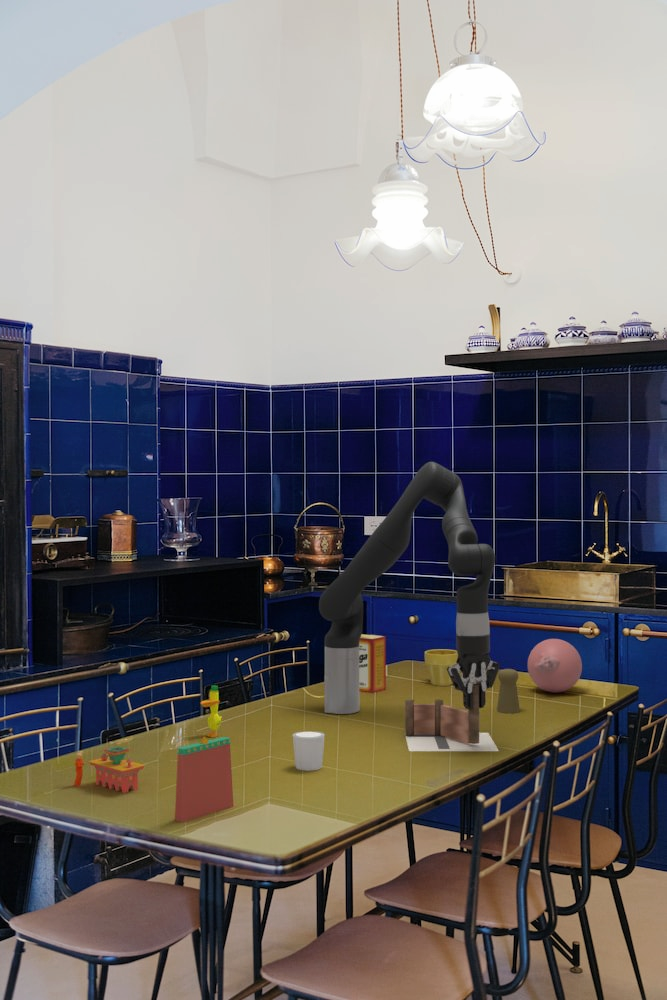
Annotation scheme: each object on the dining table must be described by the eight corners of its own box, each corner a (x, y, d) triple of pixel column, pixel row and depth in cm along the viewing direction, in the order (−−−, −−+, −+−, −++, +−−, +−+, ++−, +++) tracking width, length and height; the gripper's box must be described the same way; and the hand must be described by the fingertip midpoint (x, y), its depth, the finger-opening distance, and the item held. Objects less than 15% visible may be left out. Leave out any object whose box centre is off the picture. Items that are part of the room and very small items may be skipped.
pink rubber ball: (511, 696, 304) (511, 641, 303) (540, 685, 320) (540, 633, 320) (562, 702, 295) (562, 646, 295) (590, 690, 311) (590, 638, 311)
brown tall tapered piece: (519, 708, 286) (519, 667, 286) (520, 713, 280) (520, 671, 280) (496, 708, 287) (496, 667, 287) (497, 713, 281) (497, 671, 281)
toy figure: (206, 740, 252) (206, 689, 251) (196, 737, 254) (196, 687, 254) (227, 734, 257) (227, 685, 257) (216, 732, 259) (216, 683, 259)
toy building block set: (182, 823, 190) (181, 743, 190) (66, 787, 213) (65, 716, 213) (233, 807, 199) (233, 731, 199) (117, 774, 222) (116, 706, 222)
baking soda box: (346, 689, 314) (346, 635, 314) (359, 686, 319) (359, 632, 319) (372, 693, 308) (372, 637, 308) (385, 689, 314) (385, 635, 313)
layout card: (409, 752, 239) (409, 750, 239) (404, 734, 257) (404, 732, 257) (499, 752, 239) (499, 750, 239) (488, 734, 257) (488, 732, 257)
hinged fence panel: (438, 735, 252) (438, 677, 252) (446, 734, 253) (446, 676, 253) (473, 746, 242) (473, 685, 242) (481, 744, 243) (481, 684, 243)
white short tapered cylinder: (314, 772, 222) (314, 739, 222) (286, 768, 226) (286, 735, 226) (330, 765, 228) (330, 732, 228) (303, 761, 232) (302, 729, 232)
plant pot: (425, 687, 318) (425, 654, 318) (423, 680, 328) (423, 649, 328) (460, 687, 317) (460, 654, 317) (457, 681, 328) (457, 649, 328)
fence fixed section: (405, 736, 253) (405, 701, 253) (405, 734, 255) (404, 699, 255) (443, 736, 253) (443, 701, 253) (442, 734, 255) (442, 699, 255)
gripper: (488, 627, 249) (489, 702, 250) (437, 632, 243) (439, 709, 243) (507, 631, 243) (509, 707, 243) (456, 636, 236) (458, 714, 236)
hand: (474, 707), depth 243 cm, fingers closed on hinged fence panel, 2 cm apart
